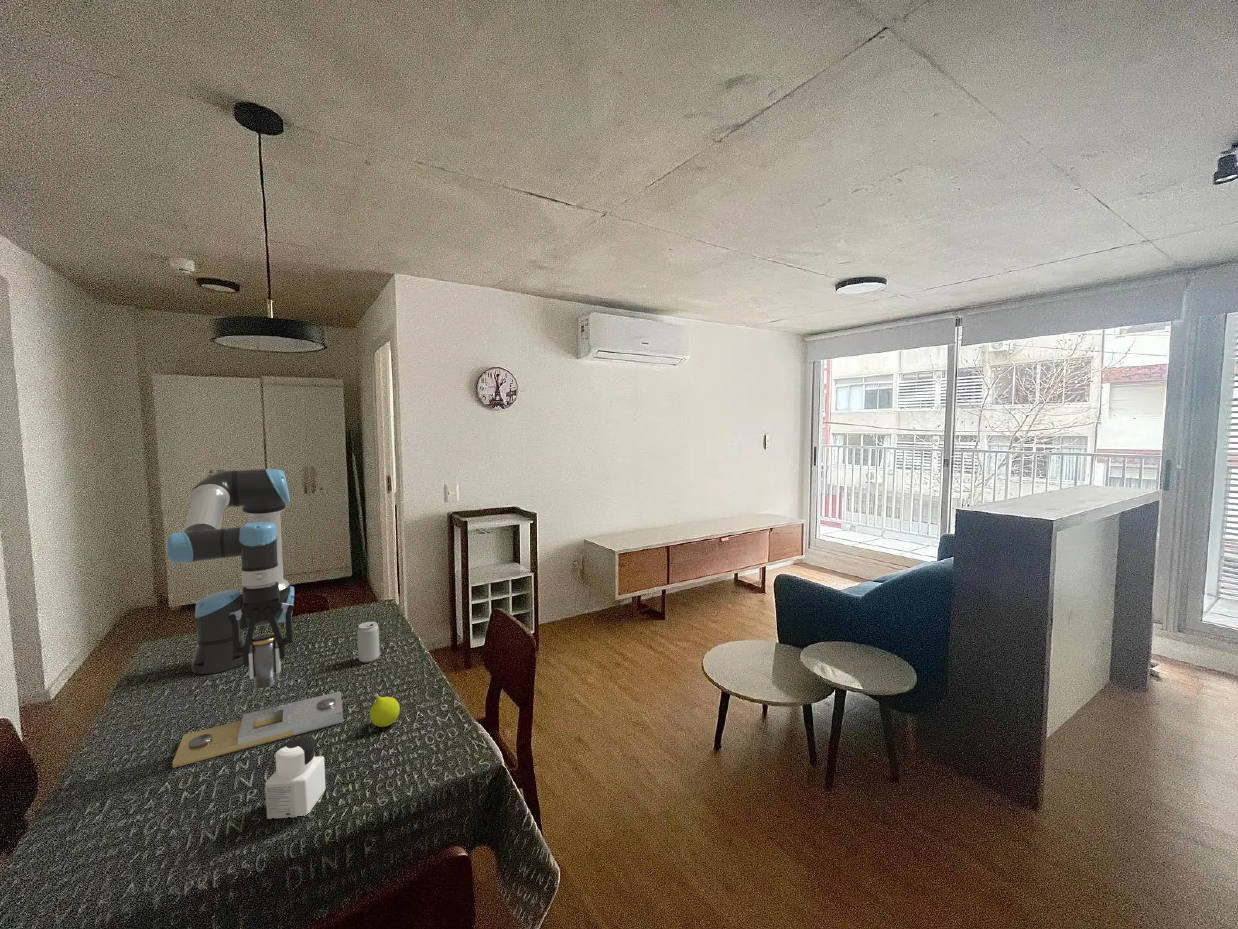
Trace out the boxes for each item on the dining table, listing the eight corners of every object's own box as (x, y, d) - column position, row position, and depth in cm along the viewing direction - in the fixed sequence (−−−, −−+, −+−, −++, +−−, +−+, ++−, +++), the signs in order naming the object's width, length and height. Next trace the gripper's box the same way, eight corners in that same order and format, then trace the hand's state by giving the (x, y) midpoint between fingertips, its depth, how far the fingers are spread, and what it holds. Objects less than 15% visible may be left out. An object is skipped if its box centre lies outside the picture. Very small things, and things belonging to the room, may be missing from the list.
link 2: (244, 725, 131) (243, 712, 130) (341, 701, 142) (340, 689, 142) (238, 750, 120) (237, 736, 120) (343, 722, 132) (342, 709, 132)
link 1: (184, 740, 124) (183, 732, 124) (295, 712, 137) (294, 705, 136) (172, 768, 114) (172, 759, 114) (293, 735, 126) (293, 727, 126)
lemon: (364, 729, 129) (362, 692, 128) (385, 714, 136) (384, 679, 135) (384, 735, 126) (383, 697, 126) (406, 720, 133) (405, 684, 132)
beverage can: (371, 664, 165) (369, 629, 164) (354, 662, 166) (352, 627, 165) (383, 655, 171) (382, 621, 170) (367, 654, 172) (366, 620, 171)
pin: (253, 681, 128) (251, 636, 128) (279, 676, 131) (277, 631, 130) (251, 691, 124) (248, 644, 123) (278, 685, 126) (276, 639, 126)
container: (288, 792, 107) (285, 733, 106) (326, 789, 107) (323, 731, 107) (266, 820, 99) (262, 757, 98) (307, 817, 100) (304, 755, 99)
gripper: (213, 594, 118) (218, 690, 119) (302, 582, 127) (306, 671, 129) (218, 586, 124) (223, 677, 126) (302, 575, 134) (306, 659, 135)
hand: (265, 673), depth 127 cm, fingers closed on pin, 5 cm apart
